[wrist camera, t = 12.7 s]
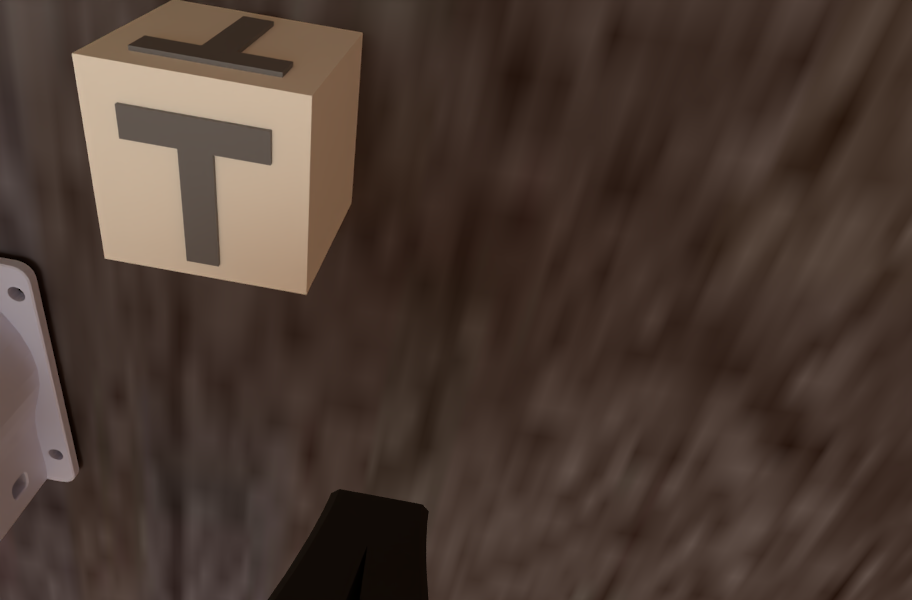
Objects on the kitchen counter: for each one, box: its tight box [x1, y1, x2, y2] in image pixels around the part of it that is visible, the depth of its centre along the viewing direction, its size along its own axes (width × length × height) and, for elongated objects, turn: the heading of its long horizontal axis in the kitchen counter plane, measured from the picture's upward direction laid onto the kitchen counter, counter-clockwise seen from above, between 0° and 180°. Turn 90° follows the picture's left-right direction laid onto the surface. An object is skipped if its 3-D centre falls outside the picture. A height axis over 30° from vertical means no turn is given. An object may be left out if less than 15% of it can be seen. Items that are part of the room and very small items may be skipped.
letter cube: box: [72, 0, 363, 295], centre depth 16 cm, size 5×4×5 cm
